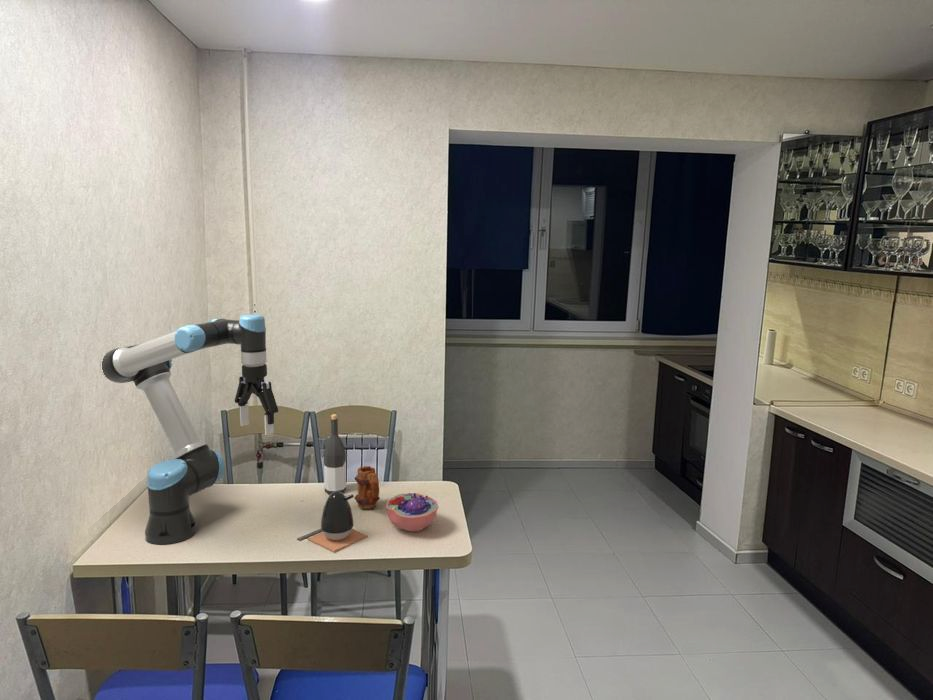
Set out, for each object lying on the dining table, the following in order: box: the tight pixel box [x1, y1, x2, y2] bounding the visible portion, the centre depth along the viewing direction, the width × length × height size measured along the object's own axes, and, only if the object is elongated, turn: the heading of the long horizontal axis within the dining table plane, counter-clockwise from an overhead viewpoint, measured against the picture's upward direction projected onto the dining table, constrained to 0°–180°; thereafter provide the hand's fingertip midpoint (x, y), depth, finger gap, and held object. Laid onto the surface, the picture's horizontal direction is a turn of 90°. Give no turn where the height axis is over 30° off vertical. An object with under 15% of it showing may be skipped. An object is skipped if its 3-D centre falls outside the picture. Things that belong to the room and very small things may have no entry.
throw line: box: [296, 528, 323, 542], centre depth 216 cm, size 2×18×1 cm, turn 141°
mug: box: [353, 465, 380, 510], centre depth 232 cm, size 15×8×15 cm, turn 27°
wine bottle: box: [323, 413, 347, 496], centre depth 246 cm, size 8×8×30 cm
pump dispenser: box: [320, 492, 355, 540], centre depth 209 cm, size 10×10×15 cm
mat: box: [306, 528, 369, 554], centre depth 211 cm, size 13×14×1 cm
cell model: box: [385, 492, 439, 533], centre depth 219 cm, size 17×20×11 cm
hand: (256, 429), depth 209 cm, fingers open, 13 cm apart
